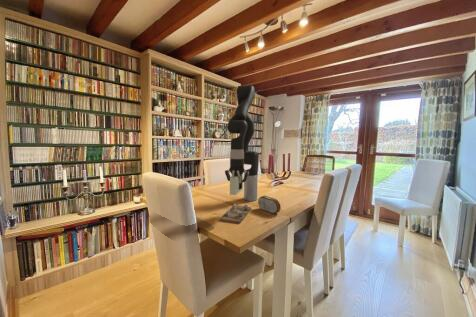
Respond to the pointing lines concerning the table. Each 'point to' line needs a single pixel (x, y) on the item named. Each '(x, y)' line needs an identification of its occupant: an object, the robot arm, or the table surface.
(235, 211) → the hinge panel
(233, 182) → the cream rectangular box
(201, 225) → the table surface
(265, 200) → the tin
